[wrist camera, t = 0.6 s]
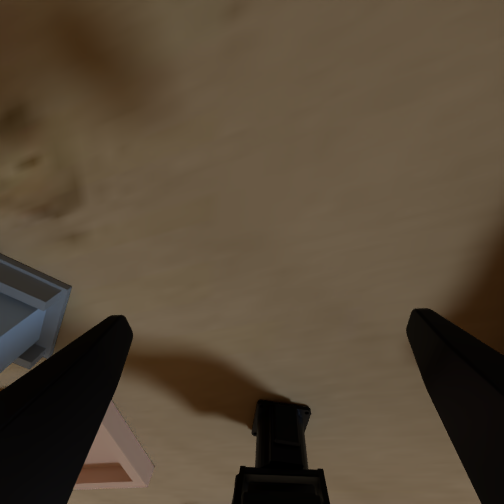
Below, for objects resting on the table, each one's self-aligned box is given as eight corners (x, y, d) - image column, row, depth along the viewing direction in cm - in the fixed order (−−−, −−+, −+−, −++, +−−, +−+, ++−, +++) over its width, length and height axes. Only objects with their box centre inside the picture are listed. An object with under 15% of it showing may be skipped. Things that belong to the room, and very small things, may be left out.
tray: (101, 385, 32) (88, 404, 30) (154, 466, 39) (147, 487, 37) (-15, 397, 35) (-35, 415, 32) (54, 471, 42) (41, 490, 39)
